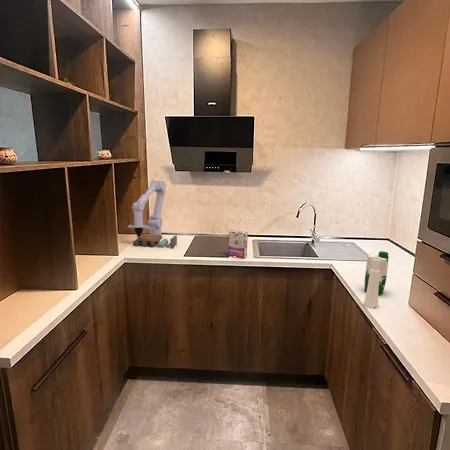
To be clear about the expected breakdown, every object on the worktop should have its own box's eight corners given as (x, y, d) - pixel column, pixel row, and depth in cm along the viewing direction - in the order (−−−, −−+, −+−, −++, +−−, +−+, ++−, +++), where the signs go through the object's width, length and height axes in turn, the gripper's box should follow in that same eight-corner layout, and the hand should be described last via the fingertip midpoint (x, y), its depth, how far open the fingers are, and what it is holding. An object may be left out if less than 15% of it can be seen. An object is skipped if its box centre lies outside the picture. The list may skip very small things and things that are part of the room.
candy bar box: (247, 257, 210) (248, 231, 207) (244, 259, 206) (244, 233, 202) (231, 254, 215) (232, 229, 212) (228, 256, 211) (228, 231, 208)
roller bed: (138, 242, 239) (138, 237, 238) (170, 244, 236) (170, 238, 235) (132, 245, 229) (132, 240, 228) (166, 247, 226) (166, 242, 225)
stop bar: (174, 244, 236) (174, 235, 235) (176, 244, 236) (176, 235, 235) (170, 248, 225) (170, 239, 224) (172, 248, 225) (172, 239, 224)
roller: (165, 244, 226) (160, 241, 226) (161, 249, 227) (157, 245, 227) (169, 241, 236) (165, 237, 236) (166, 245, 237) (161, 241, 236)
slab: (143, 237, 238) (143, 233, 237) (162, 238, 236) (162, 234, 235) (138, 240, 228) (137, 237, 227) (157, 241, 226) (157, 238, 226)
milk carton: (382, 297, 153) (387, 255, 149) (361, 292, 158) (366, 252, 154) (385, 291, 160) (390, 251, 156) (365, 286, 165) (370, 248, 161)
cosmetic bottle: (375, 309, 140) (381, 259, 136) (361, 304, 144) (366, 256, 140) (380, 305, 144) (386, 257, 140) (366, 300, 149) (372, 253, 144)
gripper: (126, 219, 227) (126, 239, 230) (146, 220, 225) (146, 240, 228) (130, 218, 234) (131, 236, 237) (150, 219, 232) (150, 237, 235)
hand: (139, 238), depth 233 cm, fingers closed
